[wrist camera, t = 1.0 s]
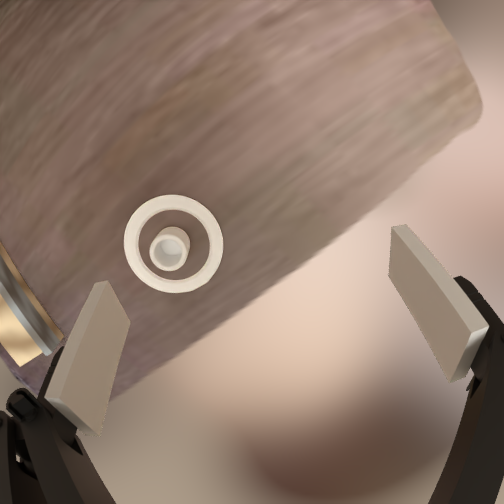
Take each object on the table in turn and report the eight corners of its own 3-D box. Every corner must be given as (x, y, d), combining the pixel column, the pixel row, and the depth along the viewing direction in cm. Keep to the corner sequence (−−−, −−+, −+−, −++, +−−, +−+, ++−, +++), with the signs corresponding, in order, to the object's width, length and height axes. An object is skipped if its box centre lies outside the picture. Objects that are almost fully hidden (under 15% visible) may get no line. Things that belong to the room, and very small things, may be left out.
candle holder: (215, 296, 40) (214, 312, 36) (122, 282, 38) (113, 296, 34) (231, 202, 37) (232, 208, 33) (130, 187, 35) (120, 191, 31)
